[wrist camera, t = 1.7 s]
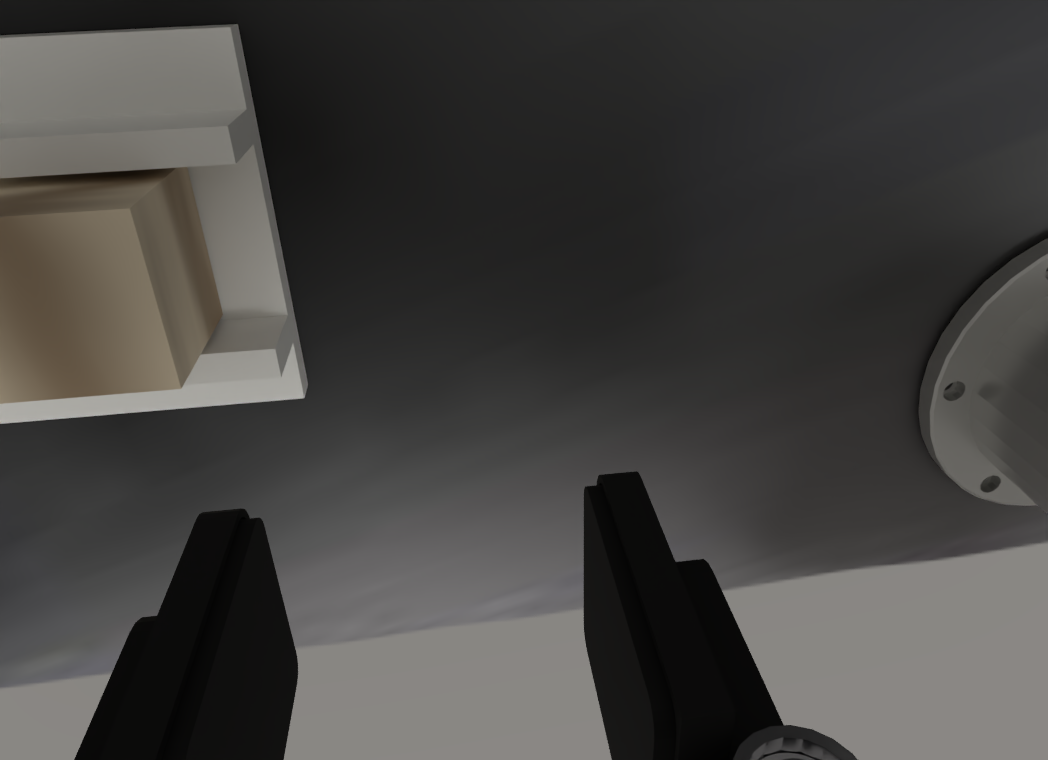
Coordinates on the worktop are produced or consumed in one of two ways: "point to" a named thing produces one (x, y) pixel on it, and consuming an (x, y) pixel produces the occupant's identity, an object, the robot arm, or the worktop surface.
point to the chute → (154, 143)
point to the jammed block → (102, 284)
